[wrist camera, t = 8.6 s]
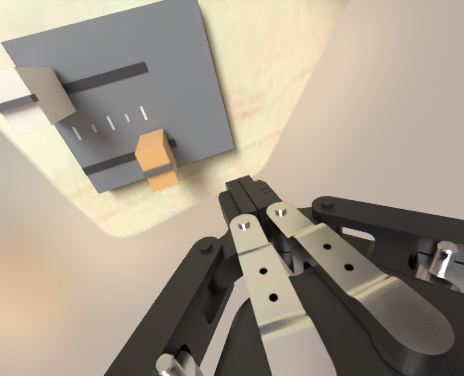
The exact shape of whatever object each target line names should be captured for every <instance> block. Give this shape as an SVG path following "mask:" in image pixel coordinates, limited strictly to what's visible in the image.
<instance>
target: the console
mask: <svg viewBox="0 0 464 376" xmlns="http://www.w3.org/2000/svg"><path fill="white" fill-rule="evenodd" d="M1 44H2V45H3V47H4V48H5V50H6V51H7V53H8V54H9V56H10V57H11V59H12V61H13V62H14V64H15V65H16V67H45V66H51V68H52V69H53V71H54V73H55V75H56V76H57V78H58V80H59V82H60V83H61V85H62V87H63V89H64V90H65V92H66V94H67V95H68V97H69V99H70V101H71V102H72V104H73V106H74V108H75V109H76V112H74V113H73V114H71V115H69V116H67V117H65V118H64V119H62V120H60V121H58V122H57V123H55V124H54V125H55V127H56V129H57V130H58V132H59V133H60V135H61V136H62V138H63V139H64V141H65V142H66V144H67V146H68V147H69V149H70V150H71V152H72V153H73V155H74V156H75V158H76V159H77V161H78V163H79V164H80V166H81V167H82V169H83V171H84V173H85V174H86V176H88V178H89V179H90V181H91V183H92V184H93V186H94V187H95V189H96V190H97V192H98V193H102V192H105V191H108V190H111V189H114V188H117V187H120V186H123V185H126V184H129V183H132V182H135V181H138V180H141V179H144V176H143V174H142V173H143V170H142V168H141V166H140V164H139V162H138V160H137V158H136V156H135V151H136V148H137V145H138V141H139V138H140V135H144V134H147V133H150V132H153V131H156V130H159V129H163V130H164V133H165V135H166V138H167V140H168V143H169V145H170V148H171V150H172V153H173V155H174V158H175V160H176V166H177V167H180V166H183V165H186V164H189V163H192V162H195V161H198V160H201V159H204V158H207V157H210V156H213V155H216V154H219V153H222V152H225V151H228V150H231V149H234V144H233V140H232V136H231V132H230V128H229V124H228V120H227V116H226V112H225V108H224V104H223V100H222V96H221V92H220V88H219V84H218V80H217V77H216V73H215V69H214V65H213V61H212V57H211V53H210V49H209V45H208V41H207V37H206V33H205V29H204V25H203V21H202V17H201V13H200V9H199V5H198V1H197V0H164V1H160V2H156V3H152V4H148V5H145V6H141V7H137V8H133V9H129V10H125V11H121V12H117V13H113V14H110V15H106V16H102V17H98V18H94V19H90V20H86V21H82V22H78V23H75V24H71V25H67V26H63V27H59V28H55V29H51V30H47V31H44V32H40V33H36V34H32V35H28V36H24V37H20V38H16V39H12V40H9V41H5V42H1Z"/></svg>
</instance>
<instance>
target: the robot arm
mask: <svg viewBox="0 0 464 376" xmlns="http://www.w3.org/2000/svg"><path fill="white" fill-rule="evenodd" d="M225 184H226V188H227V191H225V192H222V193H220V194H219V202H220V206H221V209H222V212H223V215H224V219H225V221H226V223H227V226H228V228H229V229H228V231H227V233H226V234H225V235H224V236H222V237H221V238H219V239H217V238H215V237H205V238H202V239H200V240H199V241H197V242H196V243H195V244H194V245H193V247H192V248H191V249H190V251H189V252H188V254H187V255H186V257H185V258H184V260H183V261H182V263H181V264H180V265H179V267H178V268H177V270H176V271H175V273H174V274H173V276H172V277H171V279H170V280H169V281H168V283H167V284H166V286H165V287H164V289H163V290H162V292H161V293H160V295H159V296H158V298H157V299H156V300H155V302H154V303H153V305H152V306H151V308H150V309H149V311H148V312H147V313H146V315H145V316H144V318H143V319H142V321H141V322H140V324H139V325H138V327H137V328H136V329H135V331H134V332H133V334H132V335H131V337H130V338H129V340H128V341H127V343H126V344H125V346H124V347H123V349H122V350H121V352H120V353H119V354H118V356H117V357H116V359H115V360H114V362H113V363H112V364H111V366H110V367H109V369H108V370H107V372H106V373H105V375H104V376H203V374H202V372H201V370H200V369H199V367H200V364H201V362H202V360H203V358H204V355H205V353H206V351H207V348H208V346H209V344H210V341H211V339H212V337H213V334H214V332H215V330H216V327H217V325H218V323H219V320H220V318H221V316H222V314H223V311H224V309H225V306H226V304H227V302H228V300H229V297H230V295H231V292H232V290H233V287H234V282H235V281H236V280H237V279H239V278H240V277H242V276H243V275H244V278H245V282H246V285H247V289H248V292H249V295H250V298H248V299H247V300H246V301H245V302H244V303H243V304H242V306H241V307H240V308H239V310H238V311H237V313H236V315H235V317H234V320H233V322H232V325H231V328H230V331H229V333H228V337H227V339H226V342H225V345H224V348H223V351H222V354H221V356H220V359H219V362H218V365H217V368H216V371H215V374H214V376H464V220H460V219H455V218H450V217H444V216H438V215H432V214H427V213H422V212H416V211H409V210H405V209H399V208H393V207H388V206H382V205H376V204H371V203H365V202H359V201H354V200H348V199H342V198H337V197H331V196H323V197H319V198H317V199H315V200H314V201H313V202H312V207H308V208H295V207H294V206H293V205H292V204H290V203H287V202H283V201H282V200H281V199H280V198H279V197H278V196H277V195H276V194H275V192H274V191H273V190H272V189H271V188H270V187H269V185H268V184H267V183H266V182H263V181H261V180H257V181H255V182H254V181H253V180H252V178H251V177H250V176H249V175H247V176H244V177H241V178H238V179H235V180H232V181H229V182H226V183H225ZM342 227H346V228H350V229H354V230H358V231H362V232H366V233H369V234H371V235H372V236H373V237H374V238H375V241H371V240H367V239H363V238H359V237H355V236H352V235H348V234H344V233H342ZM269 242H271V244H269ZM283 266H284V267H283ZM284 268H285V269H286V270H287V272H288V273H289V274H290V276H289V277H288V276H287V274H286V272H285V269H284Z"/></svg>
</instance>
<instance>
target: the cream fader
mask: <svg viewBox="0 0 464 376" xmlns="http://www.w3.org/2000/svg"><path fill="white" fill-rule="evenodd" d="M74 112H76V109H75V108H74V106H73V104H72V102H71V101H70V99H69V97H68V95H67V94H66V92H65V90H64V89H63V87H62V85H61V83H60V82H59V80H58V78H57V76H56V75H55V73H54V71H53V69H52V68H51V66H45V67H14V68H10V69H6V70H2V71H0V113H1V114H2V115H3V117H4V118H5V119H6V121H7V122H8V123H9V125H10V126H11V127H12V129H13V130H14V131H15V133H16V134H17V135H21V134H24V133H27V132H31V131H34V130H37V129H41V128H44V127H47V126H51V125H53V124H55V123H57V122H58V121H60V120H62V119H64V118H65V117H67V116H69V115H71V114H73V113H74Z"/></svg>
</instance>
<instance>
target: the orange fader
mask: <svg viewBox="0 0 464 376" xmlns="http://www.w3.org/2000/svg"><path fill="white" fill-rule="evenodd" d="M135 156H136V158H137V160H138V162H139V164H140V166H141V168H142V170H143V173H142V174H143V176H144V178H147V180H148V182H149V184H150V186H151V188H152V190H153V192H155V191H158V190H161V189H164V188H167V187H169V186H172V185H175V184H178V183H179V180H178V173H177V166H176V160H175V158H174V155H173V153H172V150H171V148H170V145H169V143H168V140H167V138H166V135H165V133H164V130H163V129H159V130H156V131H153V132H150V133H147V134H144V135H140V138H139V141H138V145H137V148H136V151H135Z"/></svg>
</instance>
